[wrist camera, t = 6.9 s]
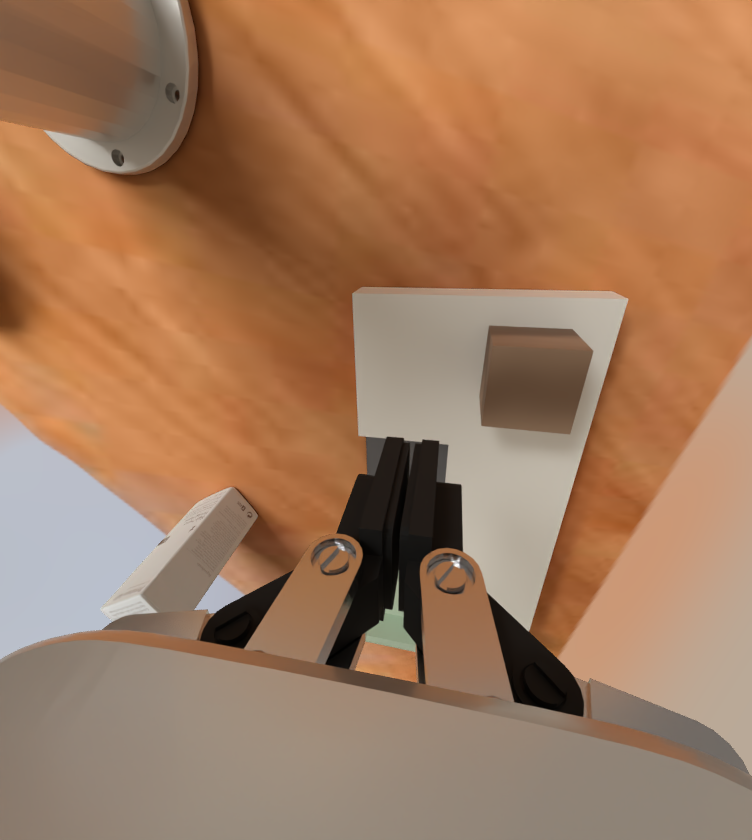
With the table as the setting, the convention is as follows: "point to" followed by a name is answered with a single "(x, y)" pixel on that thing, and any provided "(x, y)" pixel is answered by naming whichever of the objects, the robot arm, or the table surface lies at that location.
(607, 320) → the board
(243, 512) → the skincare box
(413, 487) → the robot arm
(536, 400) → the walnut block
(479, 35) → the table surface
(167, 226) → the table surface
